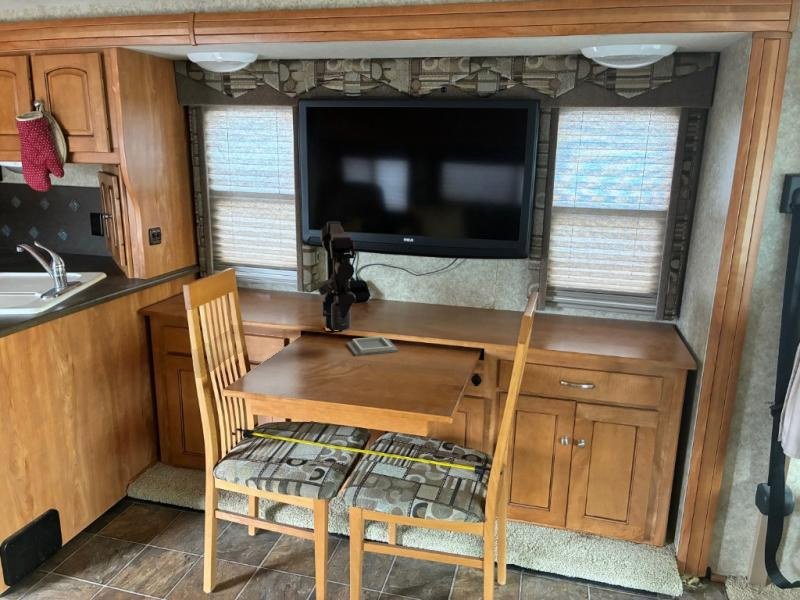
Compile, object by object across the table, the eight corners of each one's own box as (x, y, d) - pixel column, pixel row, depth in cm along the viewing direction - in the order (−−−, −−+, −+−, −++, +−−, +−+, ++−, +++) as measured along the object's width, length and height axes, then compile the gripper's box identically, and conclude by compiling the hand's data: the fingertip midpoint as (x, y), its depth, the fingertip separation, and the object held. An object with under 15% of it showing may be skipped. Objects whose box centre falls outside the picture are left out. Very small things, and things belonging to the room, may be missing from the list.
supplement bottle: (329, 325, 219) (329, 293, 215) (347, 324, 221) (348, 292, 218) (333, 331, 212) (333, 298, 209) (352, 329, 215) (353, 297, 211)
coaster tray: (346, 344, 224) (346, 339, 224) (387, 340, 229) (387, 335, 229) (355, 355, 213) (355, 350, 213) (398, 351, 219) (398, 346, 218)
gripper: (313, 267, 217) (313, 309, 221) (323, 280, 200) (323, 325, 204) (343, 266, 221) (343, 307, 225) (356, 278, 204) (356, 322, 208)
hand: (341, 315), depth 215 cm, fingers closed on supplement bottle, 7 cm apart
